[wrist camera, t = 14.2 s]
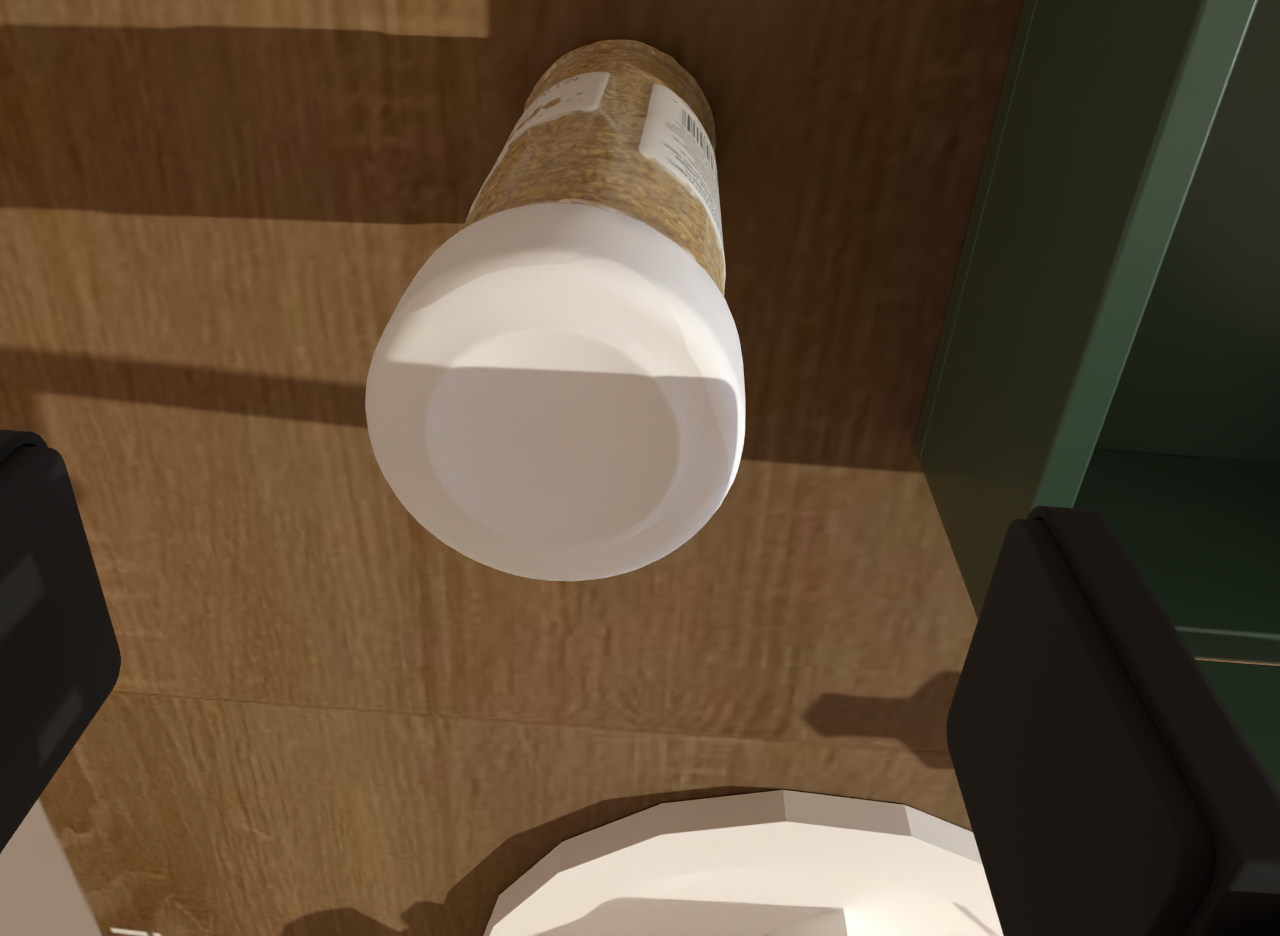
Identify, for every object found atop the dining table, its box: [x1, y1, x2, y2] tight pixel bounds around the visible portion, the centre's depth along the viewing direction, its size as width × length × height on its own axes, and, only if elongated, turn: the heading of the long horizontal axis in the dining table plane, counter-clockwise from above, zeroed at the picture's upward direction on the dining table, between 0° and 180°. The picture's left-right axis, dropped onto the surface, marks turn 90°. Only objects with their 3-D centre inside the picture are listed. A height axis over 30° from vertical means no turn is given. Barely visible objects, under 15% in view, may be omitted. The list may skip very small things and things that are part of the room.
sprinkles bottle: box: [365, 40, 745, 581], centre depth 17 cm, size 5×5×13 cm
